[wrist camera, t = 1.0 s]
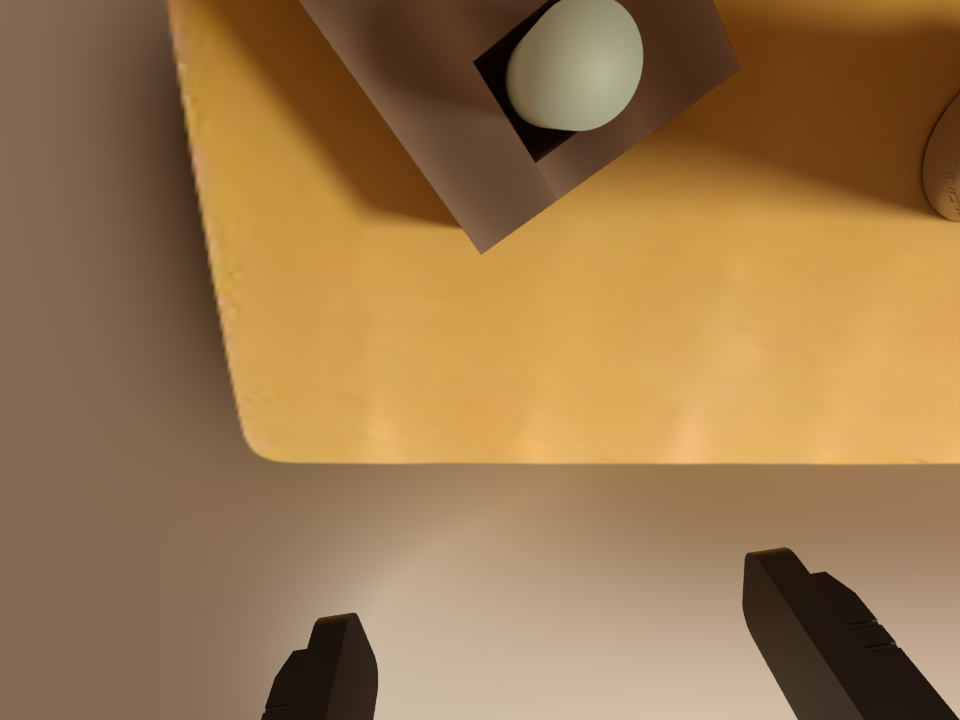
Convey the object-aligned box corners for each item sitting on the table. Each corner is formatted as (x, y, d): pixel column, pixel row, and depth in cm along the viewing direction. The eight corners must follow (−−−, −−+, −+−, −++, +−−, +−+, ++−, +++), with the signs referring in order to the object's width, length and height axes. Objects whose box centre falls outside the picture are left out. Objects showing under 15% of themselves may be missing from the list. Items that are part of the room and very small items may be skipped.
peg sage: (563, 6, 22) (606, -38, 16) (608, 91, 24) (663, 82, 17) (487, 67, 23) (500, 47, 17) (535, 146, 24) (563, 155, 18)
